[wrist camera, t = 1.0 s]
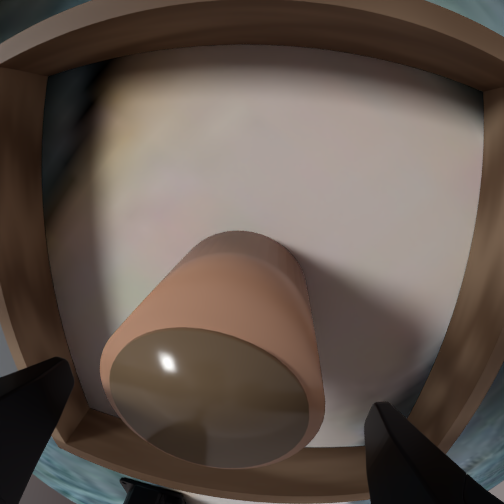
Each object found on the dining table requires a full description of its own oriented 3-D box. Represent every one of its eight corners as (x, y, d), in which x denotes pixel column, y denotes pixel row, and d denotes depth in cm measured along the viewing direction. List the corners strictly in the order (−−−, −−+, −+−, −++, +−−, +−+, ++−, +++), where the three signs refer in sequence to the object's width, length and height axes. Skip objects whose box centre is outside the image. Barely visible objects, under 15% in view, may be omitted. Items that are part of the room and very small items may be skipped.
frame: (401, 450, 16) (412, 491, 12) (81, 413, 18) (58, 447, 14) (497, 78, 9) (547, 65, 5) (37, 62, 11) (-12, 51, 7)
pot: (298, 354, 14) (303, 480, 7) (179, 342, 15) (123, 450, 8) (315, 236, 12) (351, 328, 5) (174, 226, 13) (74, 296, 6)
